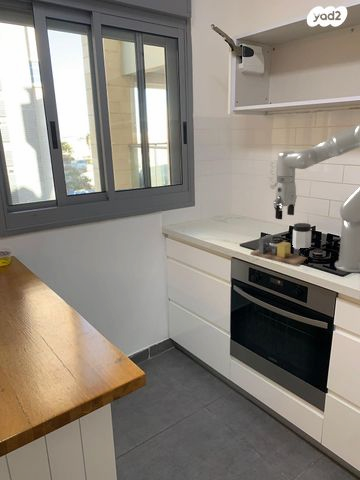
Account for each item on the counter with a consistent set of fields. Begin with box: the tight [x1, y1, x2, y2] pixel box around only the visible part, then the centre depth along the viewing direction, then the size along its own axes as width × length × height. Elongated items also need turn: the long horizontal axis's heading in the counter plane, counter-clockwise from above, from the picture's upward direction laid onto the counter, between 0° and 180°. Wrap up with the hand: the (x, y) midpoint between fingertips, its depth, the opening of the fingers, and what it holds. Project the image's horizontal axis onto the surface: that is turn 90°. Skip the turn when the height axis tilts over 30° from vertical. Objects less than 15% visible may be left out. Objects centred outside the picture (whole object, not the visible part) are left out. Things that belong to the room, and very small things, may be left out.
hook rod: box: [266, 241, 291, 258], centre depth 172 cm, size 16×5×6 cm, turn 43°
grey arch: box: [258, 234, 274, 254], centre depth 175 cm, size 2×8×9 cm, turn 133°
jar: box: [292, 222, 312, 250], centre depth 182 cm, size 9×8×12 cm
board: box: [250, 248, 308, 267], centre depth 171 cm, size 25×10×1 cm, turn 43°
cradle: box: [272, 247, 277, 256], centre depth 172 cm, size 2×3×4 cm, turn 132°
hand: (284, 216), depth 164 cm, fingers open, 9 cm apart
